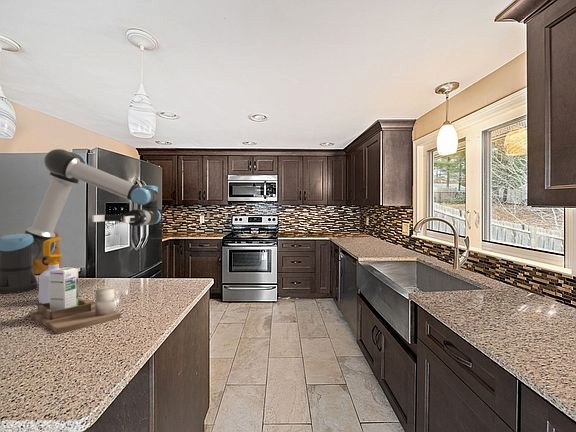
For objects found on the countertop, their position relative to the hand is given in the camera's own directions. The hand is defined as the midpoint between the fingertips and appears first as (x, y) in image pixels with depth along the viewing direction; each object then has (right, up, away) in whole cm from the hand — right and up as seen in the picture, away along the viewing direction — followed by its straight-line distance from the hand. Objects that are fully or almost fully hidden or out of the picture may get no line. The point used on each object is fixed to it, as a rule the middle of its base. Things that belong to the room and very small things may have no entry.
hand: (108, 219), depth 129 cm
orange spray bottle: (-57, -30, +42) cm, 77 cm away
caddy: (+1, -33, -21) cm, 39 cm away
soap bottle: (-18, -32, -5) cm, 37 cm away
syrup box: (-3, -31, -21) cm, 38 cm away
